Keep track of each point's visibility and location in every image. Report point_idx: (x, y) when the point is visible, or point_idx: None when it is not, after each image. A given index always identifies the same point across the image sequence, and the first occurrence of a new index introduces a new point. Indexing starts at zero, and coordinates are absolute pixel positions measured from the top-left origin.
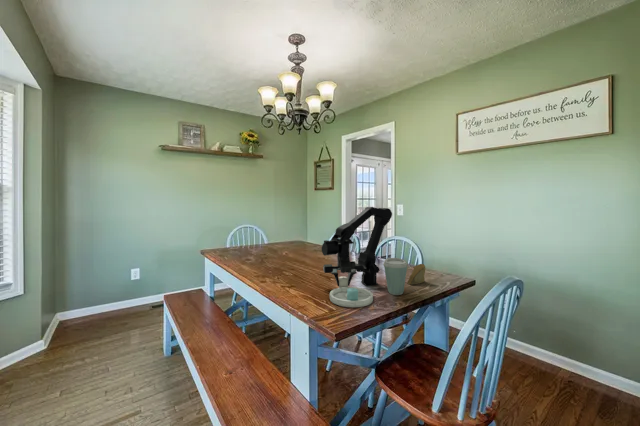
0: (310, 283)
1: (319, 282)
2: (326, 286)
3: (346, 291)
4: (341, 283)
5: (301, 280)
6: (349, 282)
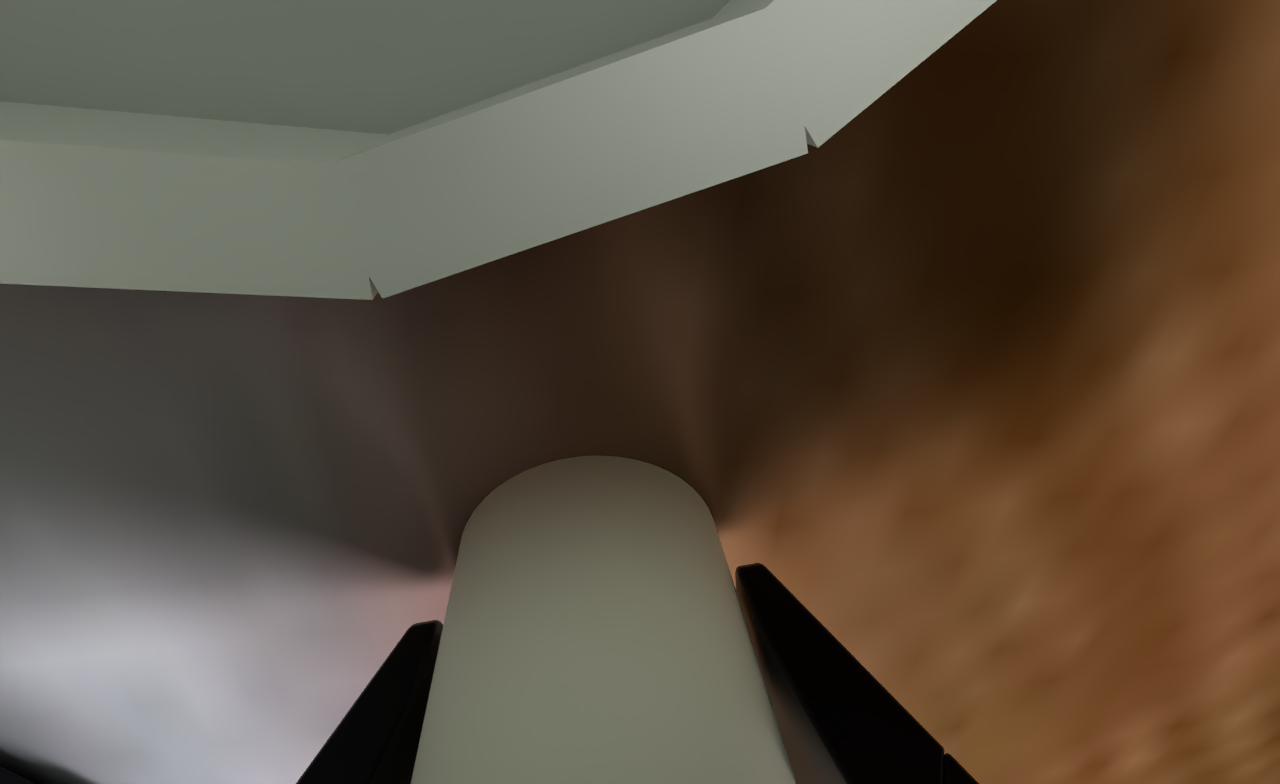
0: (1208, 687)
1: (1029, 742)
2: (982, 601)
3: (447, 62)
4: (681, 620)
5: (1263, 761)
6: (359, 733)
